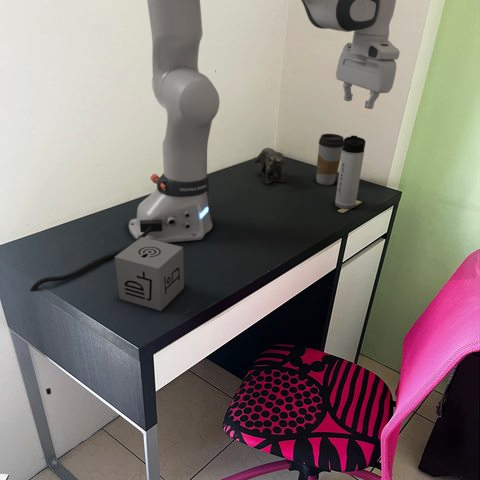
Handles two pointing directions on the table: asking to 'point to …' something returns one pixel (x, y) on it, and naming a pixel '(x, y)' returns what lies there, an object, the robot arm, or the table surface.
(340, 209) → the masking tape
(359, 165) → the travel mug
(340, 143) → the coffee cup
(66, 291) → the table surface
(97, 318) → the table surface
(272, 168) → the toy dinosaur
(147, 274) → the icon cube
